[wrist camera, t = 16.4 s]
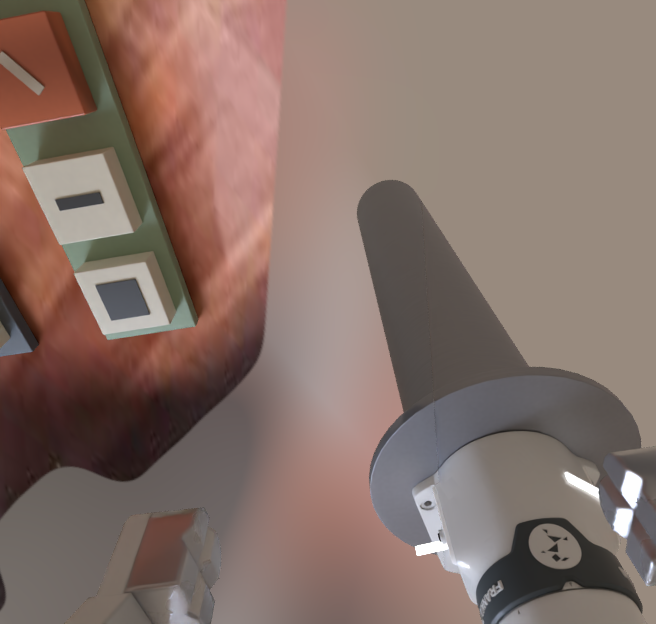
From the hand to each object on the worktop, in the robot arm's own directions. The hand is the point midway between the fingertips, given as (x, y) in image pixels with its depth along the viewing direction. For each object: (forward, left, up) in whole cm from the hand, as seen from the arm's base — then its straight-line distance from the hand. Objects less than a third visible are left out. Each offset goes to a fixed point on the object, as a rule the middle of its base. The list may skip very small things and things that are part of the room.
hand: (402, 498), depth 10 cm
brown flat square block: (+9, +16, -24) cm, 30 cm away
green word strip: (+2, +16, -25) cm, 30 cm away
